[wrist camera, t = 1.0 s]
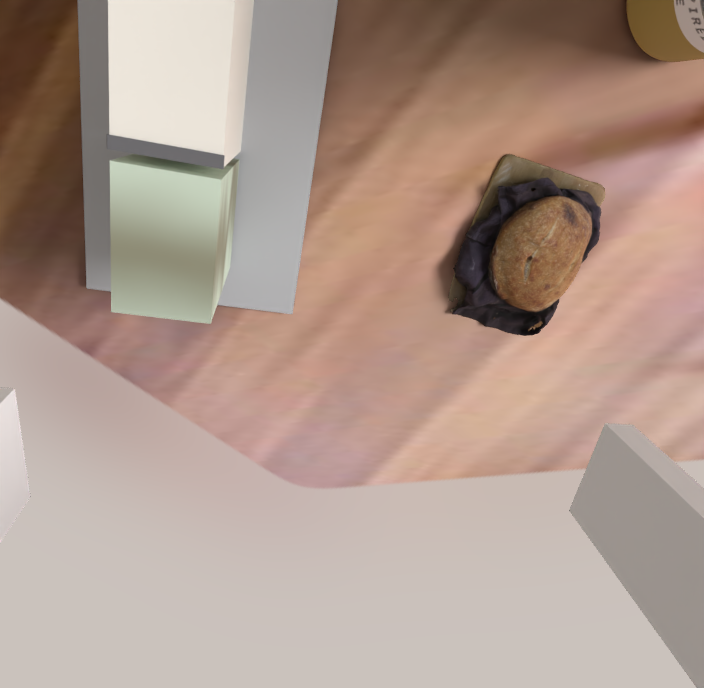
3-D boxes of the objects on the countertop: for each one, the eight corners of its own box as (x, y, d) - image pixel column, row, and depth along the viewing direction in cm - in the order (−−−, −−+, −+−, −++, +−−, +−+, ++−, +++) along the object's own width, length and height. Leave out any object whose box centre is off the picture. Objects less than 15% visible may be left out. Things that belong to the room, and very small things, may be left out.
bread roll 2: (494, 146, 30) (520, 150, 26) (611, 188, 32) (650, 197, 28) (429, 308, 34) (445, 330, 30) (537, 337, 35) (563, 361, 32)
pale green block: (161, 145, 26) (109, 160, 18) (239, 159, 27) (221, 179, 19) (158, 256, 29) (111, 311, 21) (230, 266, 29) (210, 323, 21)
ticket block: (73, -282, 20) (-87, -579, 11) (364, -189, 22) (415, -377, 14) (89, 285, 30) (9, 358, 21) (292, 311, 32) (295, 386, 23)
